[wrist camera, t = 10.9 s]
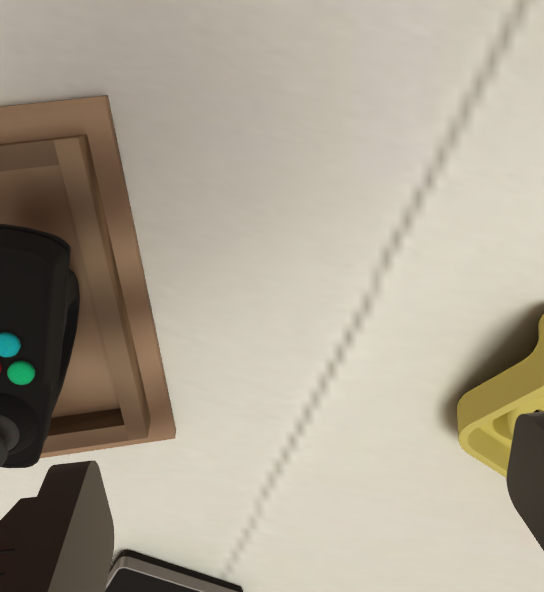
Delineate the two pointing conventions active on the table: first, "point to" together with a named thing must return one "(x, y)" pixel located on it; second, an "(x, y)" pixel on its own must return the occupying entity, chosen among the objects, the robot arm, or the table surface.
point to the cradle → (89, 271)
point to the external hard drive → (159, 577)
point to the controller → (33, 337)
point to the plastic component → (501, 408)
